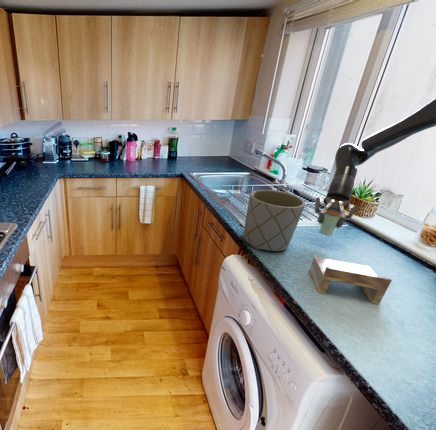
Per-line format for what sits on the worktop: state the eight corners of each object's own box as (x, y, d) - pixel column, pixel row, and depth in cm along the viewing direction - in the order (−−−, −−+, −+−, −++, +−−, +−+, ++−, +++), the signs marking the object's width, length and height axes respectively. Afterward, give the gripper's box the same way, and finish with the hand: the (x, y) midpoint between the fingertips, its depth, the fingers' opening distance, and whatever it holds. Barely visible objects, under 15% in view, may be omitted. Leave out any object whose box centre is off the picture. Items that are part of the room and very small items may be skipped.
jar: (331, 231, 116) (339, 210, 112) (336, 237, 111) (344, 216, 108) (316, 228, 118) (323, 208, 114) (319, 234, 113) (327, 214, 109)
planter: (276, 232, 127) (288, 190, 119) (300, 255, 110) (316, 208, 102) (233, 231, 128) (242, 188, 119) (250, 254, 110) (262, 206, 102)
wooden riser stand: (363, 281, 96) (373, 258, 92) (379, 304, 86) (392, 280, 82) (308, 270, 101) (316, 249, 97) (318, 291, 91) (327, 268, 87)
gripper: (321, 180, 116) (308, 216, 112) (366, 187, 108) (354, 226, 105) (318, 189, 122) (306, 223, 119) (360, 196, 114) (349, 234, 111)
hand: (329, 225), depth 112 cm, fingers closed on jar, 5 cm apart
